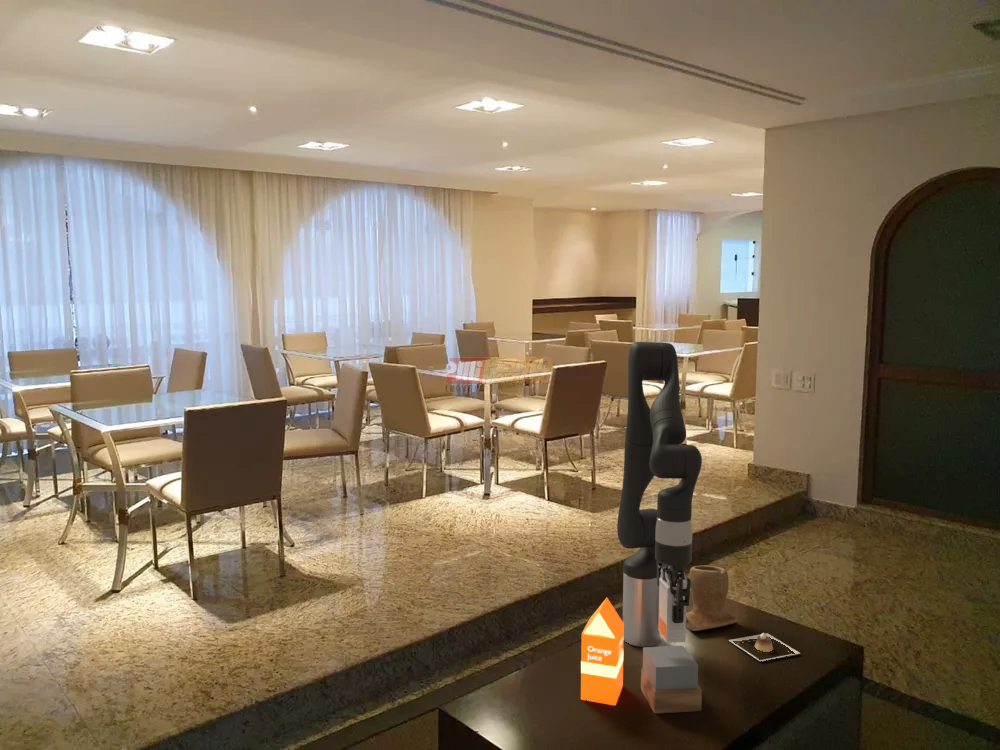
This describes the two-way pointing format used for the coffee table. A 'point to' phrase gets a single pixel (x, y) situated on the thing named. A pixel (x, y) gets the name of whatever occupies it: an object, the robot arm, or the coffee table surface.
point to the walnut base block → (671, 698)
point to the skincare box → (669, 616)
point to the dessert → (763, 644)
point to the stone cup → (708, 598)
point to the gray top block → (670, 667)
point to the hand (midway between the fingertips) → (671, 615)
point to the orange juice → (602, 656)
